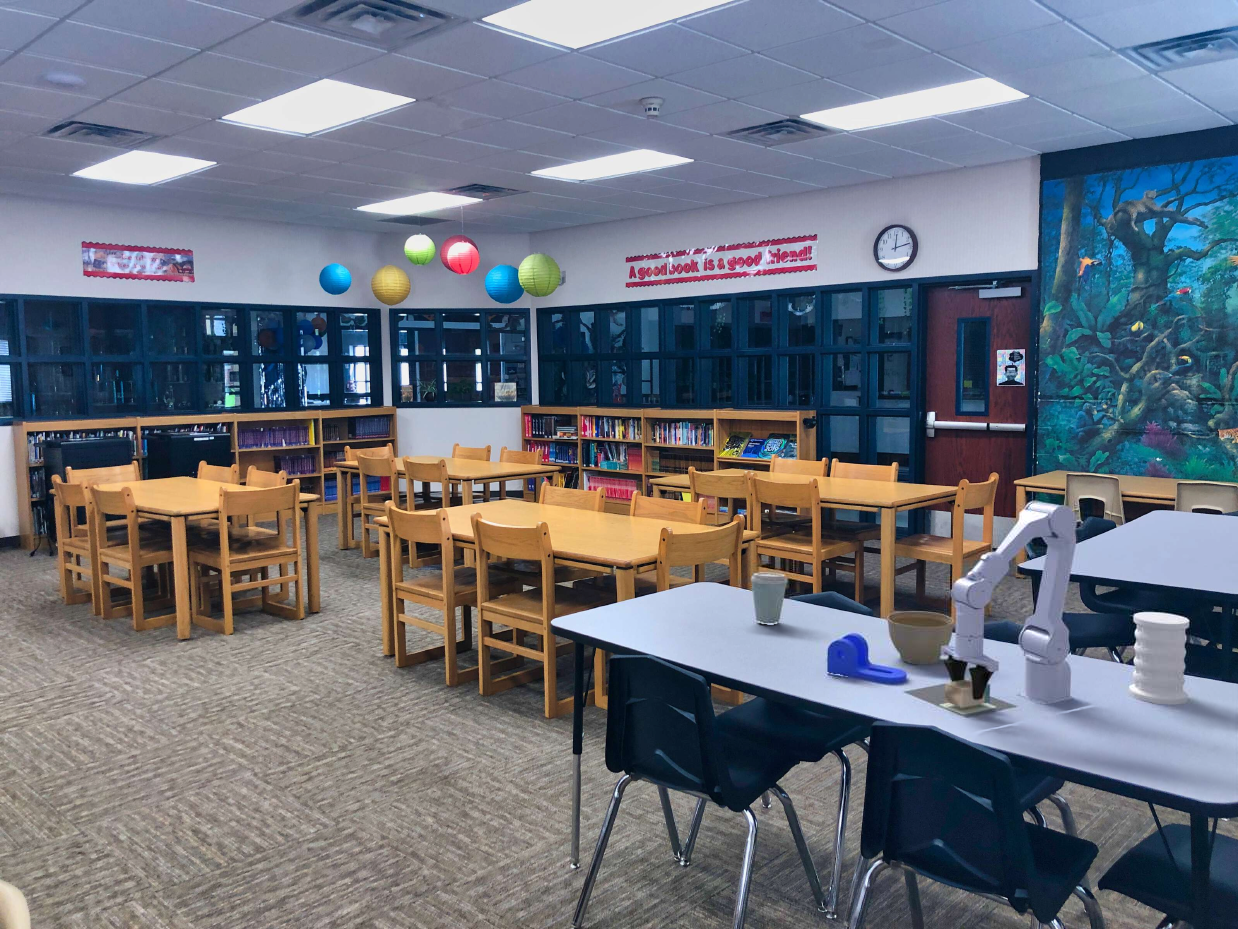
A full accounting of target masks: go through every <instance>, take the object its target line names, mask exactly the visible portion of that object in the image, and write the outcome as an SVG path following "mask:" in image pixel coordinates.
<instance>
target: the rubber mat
mask: <svg viewBox="0 0 1238 929" xmlns="http://www.w3.org/2000/svg"><path fill="white" fill-rule="evenodd" d="M903 693H904V694H907V695H910V696H911V697H912V696H913V697H914V698H917V699H920V700H921V701H924V702H927V703H930V704H932V705H934V706H936V707H939V708H942V709H945V710H947V711H949V712H951V713H954V714H956V715H959V716H962V717H963V718H971V717H977V716H981V715H986V714H989V713H995V712H998V711H1003V710H1008V709H1012V708H1016V707H1018V706H1017V705H1016V704H1013V703H1009V702H1007V701H1004V700H1002V699H999V698H996V697H993V696H991V695H990V702H989V703H984V704H979V705H974V706H969V707H964V708H961V707H958V706H956V705H953V704H951V703H948V702H946V701H945V683H941V684H936V685H931V686H926V687H921V688H916V689H915V688H914V689H910V690H904V691H903Z"/></svg>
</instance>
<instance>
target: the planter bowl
mask: <svg viewBox="0 0 1238 929" xmlns="http://www.w3.org/2000/svg"><path fill="white" fill-rule="evenodd" d="M886 619H887V625H888V626H887V628H888V634H889V637H890V640H891V642H892V644H893V647H894V648H895V650H896V651H897V652H898V654H899V656H900V660H901V659H902V660H901V661H903V662H905V661H906V662H905V663H907V662H910V663H909V664H911V663H912V665H932V664H937V663H939V662H940V661H941V660H940V659H941V656H942V655H941V646H946V645H948V646H950V645H949V644H950V642H951V640H952V635H953V627H954V623H955V621H954V619H953V618H952V617H950V616H948V615H946V614H942V613H939V612H931V611H923V610H921V611H917V610H912V611H909V610H907V611H898V612H893V613H890V614H889V615H887V618H886Z"/></svg>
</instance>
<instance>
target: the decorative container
mask: <svg viewBox="0 0 1238 929" xmlns="http://www.w3.org/2000/svg"><path fill="white" fill-rule="evenodd" d="M1133 623H1135V624H1136V629H1135V631H1134V637H1135V639H1136V640H1135V644H1134V645H1133V646H1134V647H1133V648H1134V652H1135V656H1134V658H1133V665H1134V666H1135V668H1134V670H1133V673H1132V676H1133V679H1134V683H1132V684H1131V685H1129V687H1128V694H1129V696H1130V697H1132V696H1133V698H1134V699H1136V698H1137V700H1138V701H1142V700H1143V701H1142V702H1145V701H1146V703H1150V702H1152V703H1151V704H1155V703H1158V704H1157V705H1163V704H1164V706H1165V705H1166V706H1178V705H1177V704H1179V705H1184V704H1186V703H1187V702H1188V701H1189V700H1188V696H1189V694H1188V692H1186V691H1185V690H1183V689H1184V685H1185V682H1186V680H1185V676H1184V672H1185V670H1186V663H1185V657H1186V655H1187V650H1186V648H1185V647H1186V646H1185V644H1186V642H1187V635H1186V630H1187V629H1188V628H1190V619H1188V618H1187V617H1185V616H1183V615H1182V616H1181V615H1177V614H1173V613H1166V612H1159V611H1158V612H1155V611H1143V612H1137V613H1134V614H1133ZM1187 700H1188V701H1187ZM1183 703H1184V704H1183Z"/></svg>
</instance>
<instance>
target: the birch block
mask: <svg viewBox="0 0 1238 929" xmlns="http://www.w3.org/2000/svg"><path fill="white" fill-rule="evenodd" d="M944 684H945V701H946V702H948V703H951V704H953V705H956V706H958V707H961V708H964V707H969V706H974V705H979V704H984V703H989V702H990V696H991V683H989V682H988V683H987V686H986V688H985V691H984V695H983V698H982V699H979V700H975V699H973V690H972V679H971V677H969V678H966V679H965V678H964V680H959V681H954V682H952V681H950V682H945V683H944Z"/></svg>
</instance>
